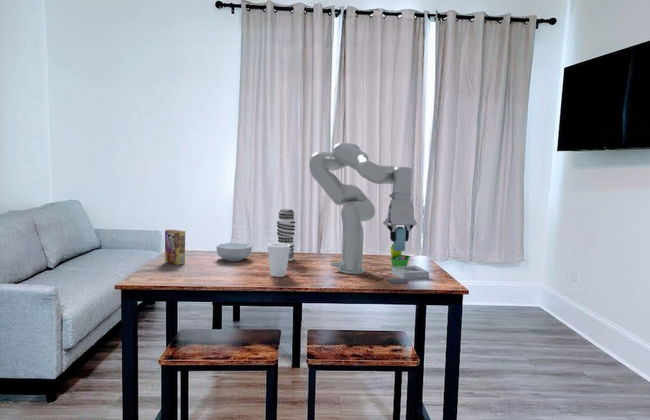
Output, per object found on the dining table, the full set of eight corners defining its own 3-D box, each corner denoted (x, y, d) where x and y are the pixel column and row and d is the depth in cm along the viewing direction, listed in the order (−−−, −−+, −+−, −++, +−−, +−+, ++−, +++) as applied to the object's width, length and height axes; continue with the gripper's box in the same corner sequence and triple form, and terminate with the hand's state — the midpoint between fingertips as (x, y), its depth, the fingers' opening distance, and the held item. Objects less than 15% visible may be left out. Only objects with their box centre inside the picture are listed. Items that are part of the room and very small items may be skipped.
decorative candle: (290, 256, 224) (291, 208, 221) (297, 260, 215) (298, 210, 213) (273, 257, 220) (274, 208, 217) (279, 261, 212) (281, 210, 209)
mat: (392, 284, 178) (392, 283, 178) (385, 279, 185) (385, 278, 185) (408, 283, 180) (408, 282, 180) (400, 278, 187) (400, 277, 187)
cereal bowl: (257, 261, 211) (258, 246, 210) (226, 265, 201) (226, 250, 200) (241, 254, 224) (241, 241, 224) (210, 258, 214) (210, 244, 213)
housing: (403, 279, 186) (403, 272, 185) (391, 272, 197) (391, 266, 197) (428, 278, 189) (428, 271, 189) (415, 271, 201) (415, 265, 200)
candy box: (185, 263, 201) (185, 230, 199) (178, 265, 197) (178, 231, 196) (171, 261, 205) (171, 228, 203) (164, 262, 201) (164, 229, 199)
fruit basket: (406, 271, 201) (407, 247, 200) (387, 269, 204) (388, 245, 203) (409, 266, 212) (410, 243, 211) (391, 264, 215) (392, 241, 214)
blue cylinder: (396, 251, 178) (397, 228, 177) (390, 248, 183) (391, 226, 182) (407, 250, 180) (408, 227, 178) (401, 248, 184) (402, 226, 183)
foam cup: (264, 272, 189) (265, 243, 188) (285, 271, 193) (285, 242, 191) (270, 278, 180) (271, 247, 179) (292, 276, 184) (292, 246, 183)
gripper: (386, 197, 173) (384, 242, 175) (424, 198, 178) (422, 242, 180) (378, 196, 180) (376, 239, 182) (415, 196, 185) (413, 239, 187)
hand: (399, 240), depth 181 cm, fingers closed on blue cylinder, 5 cm apart
